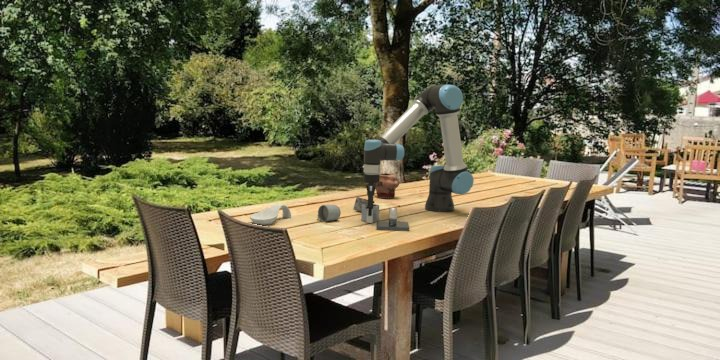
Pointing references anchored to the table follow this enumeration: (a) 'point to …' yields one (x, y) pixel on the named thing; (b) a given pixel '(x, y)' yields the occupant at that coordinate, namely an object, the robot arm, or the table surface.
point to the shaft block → (392, 222)
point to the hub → (375, 213)
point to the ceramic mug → (328, 212)
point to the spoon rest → (270, 214)
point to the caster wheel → (359, 203)
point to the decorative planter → (386, 186)
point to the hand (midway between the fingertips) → (369, 219)
